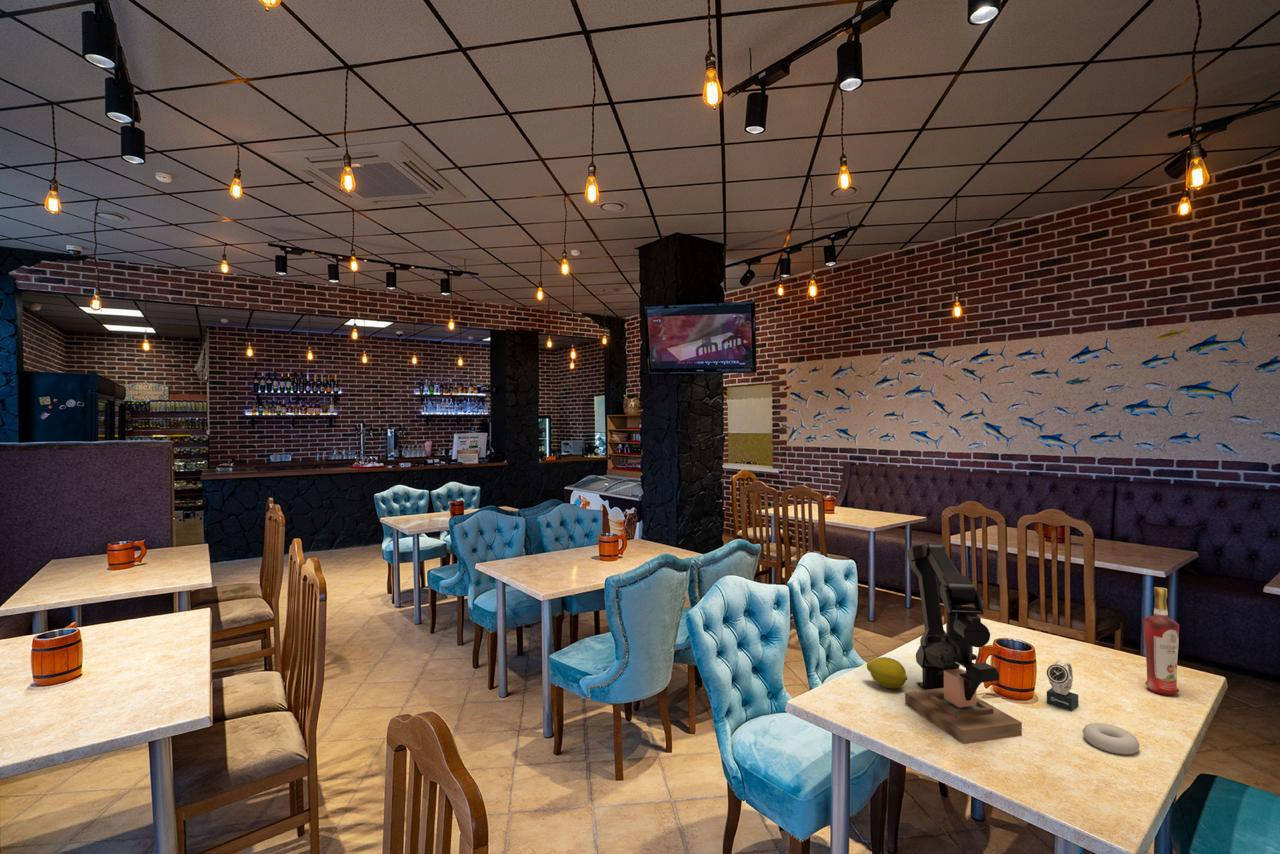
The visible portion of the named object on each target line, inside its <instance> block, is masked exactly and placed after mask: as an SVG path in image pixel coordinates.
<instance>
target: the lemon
mask: <svg viewBox="0 0 1280 854" xmlns="http://www.w3.org/2000/svg"><path fill="white" fill-rule="evenodd" d="M866 669H867V671H868V672H869V673H870V676H871V677H872V679H873V680H874V681H875V683H877V684H878V685H879V686H882V687H884V688H886V689H896V690H898V689H900V688H903V686H904V685H905V684H906V682H907V681H908V675H907V672H906V669H905V667H904V665H902V663H901V662H900V661H898V660H896V659H894V658H891V657H886V656H883V657H882V656H880V657H877V658H875V659H871V660H869V661H867V663H866Z"/></svg>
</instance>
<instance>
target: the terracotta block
mask: <svg viewBox="0 0 1280 854" xmlns="http://www.w3.org/2000/svg"><path fill="white" fill-rule="evenodd" d="M962 673H966V669H965V670H964V669H962V668H960V667H959V669H952V670H944V699H946V700H947V701H949V702H951V703H952V704H954V705H956V706H957V707H959V708H960V707H967V706H975V705H977V701H976V697H977V691H976V692H975V693H974V695H973V697H972V698H971V700H969V701H967V700H966V698H965V690H964V679H963V678H962V677H961V676H960V675H959V674H962Z"/></svg>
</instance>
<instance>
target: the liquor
mask: <svg viewBox="0 0 1280 854" xmlns="http://www.w3.org/2000/svg"><path fill="white" fill-rule="evenodd" d="M1153 595H1154V607H1153V615H1150V616H1149V615H1148V616H1146V617H1145V618H1143V619H1142V623H1143V636H1144V647H1145V661H1146V662H1145V663H1146V681H1145V684H1144V685H1145V686H1147V687H1148V689H1149V690H1150V691H1152V692H1153V693H1155V694H1158V695H1162V696H1173V695H1175V694H1177V693H1178V692H1180V690H1179V688H1178V686H1177V684H1178V682H1177V681H1178V655H1179V641H1180V640H1179V639H1180V624H1179V623H1178V622H1177V621H1175V620H1174V619H1173V618H1170V617H1169V614H1168V613H1169V612H1168V605H1167V599H1168V589H1167V588H1165V587H1162V586H1161V587H1159V586H1158V587H1157V586H1154V587H1153Z"/></svg>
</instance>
